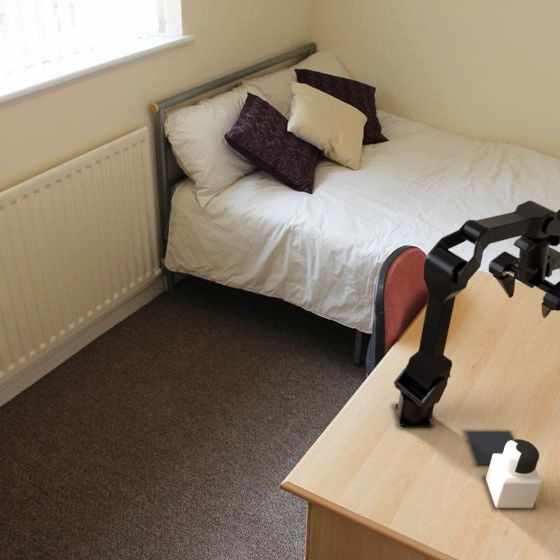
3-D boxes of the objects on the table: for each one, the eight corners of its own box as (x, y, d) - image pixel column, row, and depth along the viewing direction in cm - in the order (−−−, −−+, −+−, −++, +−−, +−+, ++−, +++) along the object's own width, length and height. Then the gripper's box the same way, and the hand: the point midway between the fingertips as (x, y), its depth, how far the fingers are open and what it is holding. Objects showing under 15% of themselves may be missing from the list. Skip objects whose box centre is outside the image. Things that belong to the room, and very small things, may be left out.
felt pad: (478, 465, 140) (478, 464, 140) (466, 432, 148) (466, 431, 148) (522, 465, 141) (522, 464, 141) (508, 432, 148) (508, 431, 148)
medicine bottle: (521, 478, 138) (535, 434, 131) (533, 508, 132) (549, 463, 125) (485, 478, 137) (497, 434, 131) (495, 508, 131) (509, 463, 125)
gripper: (596, 255, 146) (586, 308, 157) (521, 218, 158) (517, 269, 168) (562, 283, 142) (554, 335, 152) (488, 243, 154) (485, 293, 164)
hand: (527, 306), depth 160 cm, fingers open, 9 cm apart
